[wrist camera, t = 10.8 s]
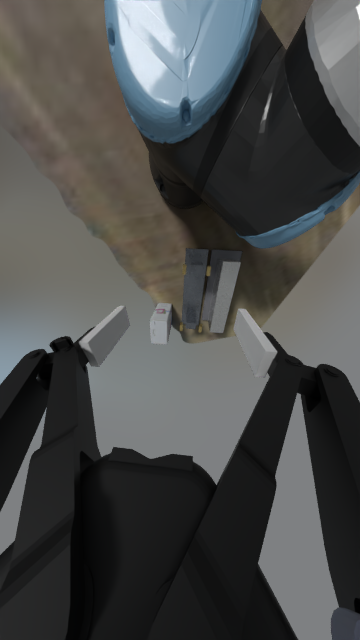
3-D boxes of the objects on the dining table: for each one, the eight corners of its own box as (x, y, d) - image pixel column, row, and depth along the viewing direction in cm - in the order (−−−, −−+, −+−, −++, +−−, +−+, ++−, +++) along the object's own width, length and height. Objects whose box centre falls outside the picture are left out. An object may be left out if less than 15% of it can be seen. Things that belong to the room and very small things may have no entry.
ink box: (172, 324, 50) (167, 345, 39) (159, 323, 50) (150, 344, 40) (172, 303, 45) (167, 321, 35) (158, 302, 46) (148, 320, 35)
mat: (211, 249, 36) (212, 249, 36) (241, 251, 36) (242, 251, 35) (201, 319, 47) (201, 320, 47) (224, 321, 47) (224, 321, 47)
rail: (218, 258, 37) (223, 261, 31) (232, 259, 37) (240, 262, 31) (207, 320, 47) (209, 332, 41) (219, 321, 47) (222, 333, 41)
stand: (185, 248, 37) (183, 250, 28) (208, 249, 36) (213, 251, 28) (181, 322, 49) (179, 338, 41) (198, 323, 49) (200, 340, 40)
